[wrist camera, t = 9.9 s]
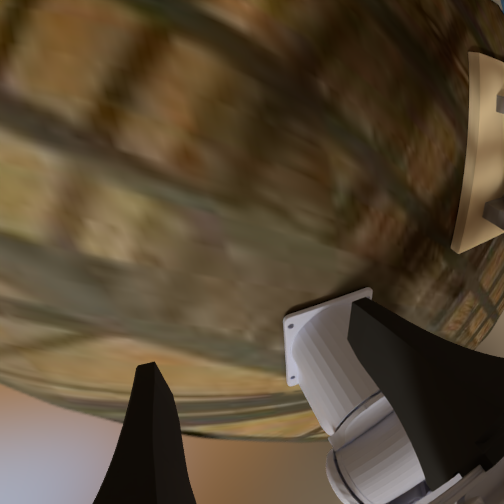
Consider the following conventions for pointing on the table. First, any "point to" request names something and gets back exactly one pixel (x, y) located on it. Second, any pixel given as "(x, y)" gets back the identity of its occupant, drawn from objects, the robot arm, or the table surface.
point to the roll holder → (482, 157)
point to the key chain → (500, 4)
